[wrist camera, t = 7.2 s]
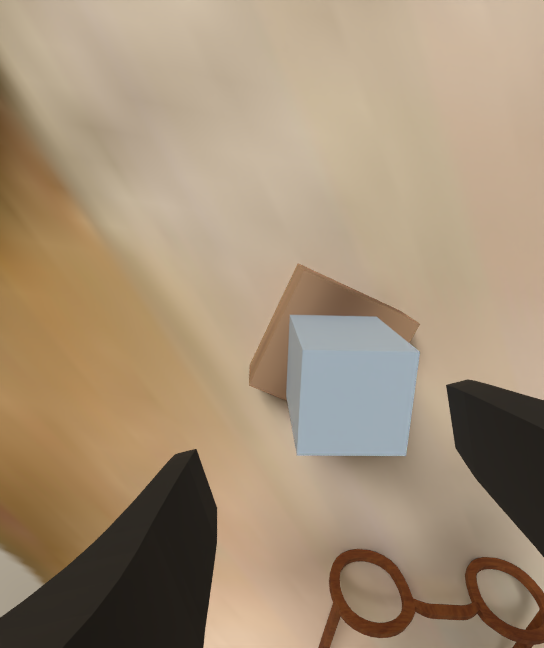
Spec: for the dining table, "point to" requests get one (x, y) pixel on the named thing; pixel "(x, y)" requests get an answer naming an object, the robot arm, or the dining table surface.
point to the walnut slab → (314, 299)
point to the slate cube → (349, 386)
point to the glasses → (535, 633)
